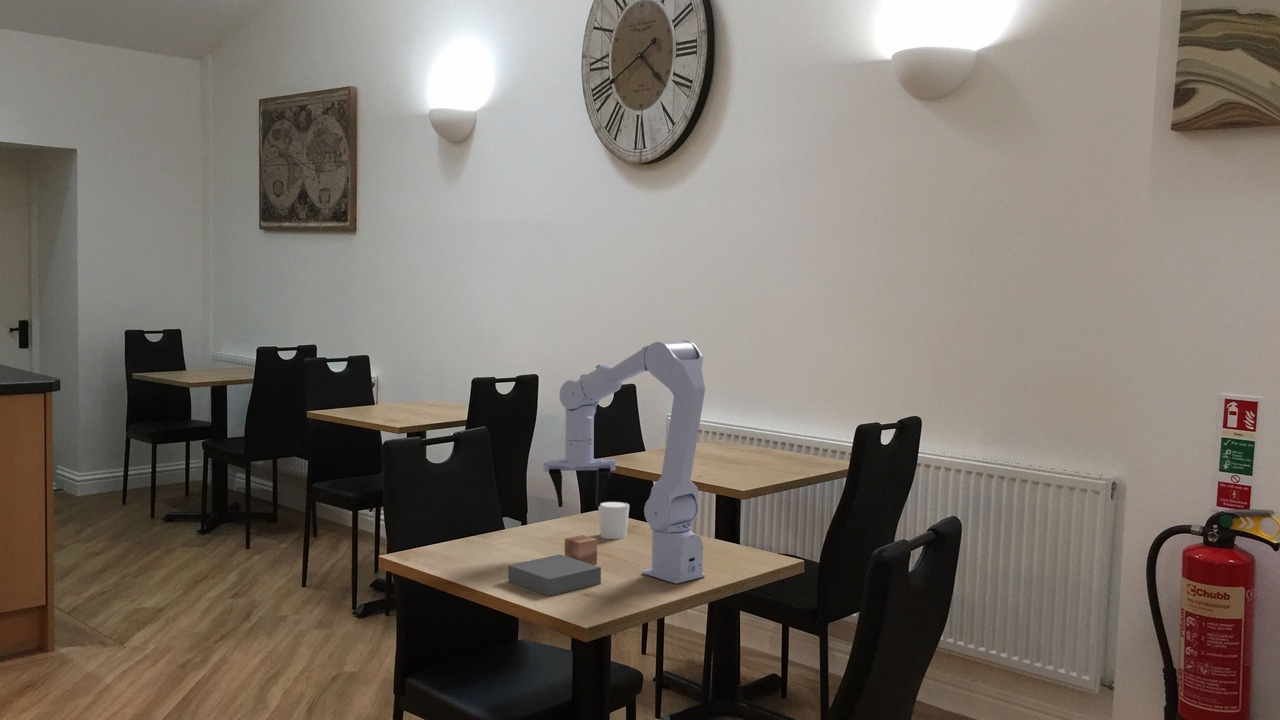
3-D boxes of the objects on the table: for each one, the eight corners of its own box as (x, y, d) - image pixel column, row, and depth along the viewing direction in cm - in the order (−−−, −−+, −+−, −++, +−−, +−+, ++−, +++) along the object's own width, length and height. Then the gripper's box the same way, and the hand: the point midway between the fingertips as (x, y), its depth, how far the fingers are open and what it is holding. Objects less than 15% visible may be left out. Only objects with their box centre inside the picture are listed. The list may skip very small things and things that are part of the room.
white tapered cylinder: (630, 532, 228) (631, 501, 228) (627, 540, 221) (627, 508, 221) (599, 531, 229) (600, 500, 228) (595, 539, 222) (595, 507, 222)
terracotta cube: (596, 564, 202) (597, 539, 202) (579, 568, 199) (579, 542, 199) (582, 559, 205) (582, 535, 205) (564, 563, 202) (564, 538, 202)
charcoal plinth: (600, 583, 189) (600, 567, 188) (548, 596, 180) (548, 579, 180) (559, 569, 197) (559, 554, 197) (508, 581, 189) (508, 565, 189)
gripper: (612, 436, 214) (612, 500, 215) (542, 437, 212) (542, 502, 213) (617, 440, 207) (616, 507, 208) (544, 441, 205) (544, 509, 206)
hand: (579, 505), depth 210 cm, fingers open, 7 cm apart
